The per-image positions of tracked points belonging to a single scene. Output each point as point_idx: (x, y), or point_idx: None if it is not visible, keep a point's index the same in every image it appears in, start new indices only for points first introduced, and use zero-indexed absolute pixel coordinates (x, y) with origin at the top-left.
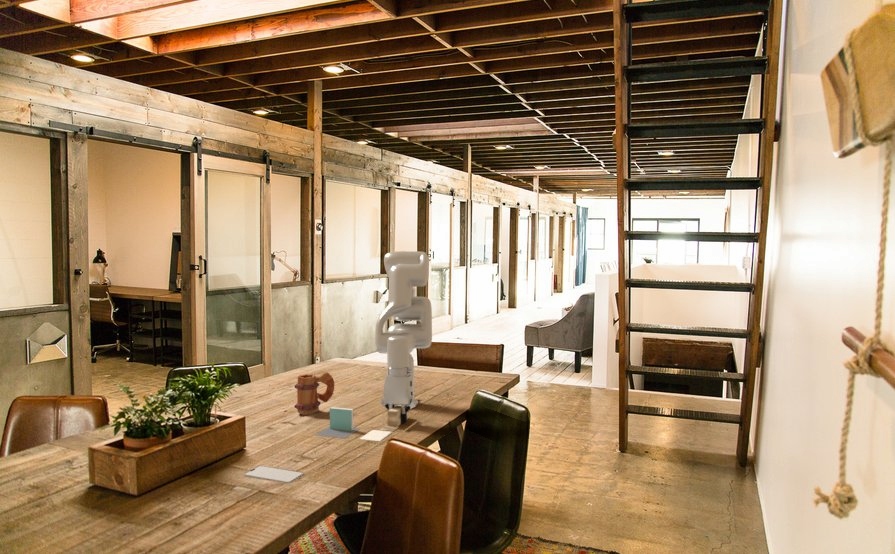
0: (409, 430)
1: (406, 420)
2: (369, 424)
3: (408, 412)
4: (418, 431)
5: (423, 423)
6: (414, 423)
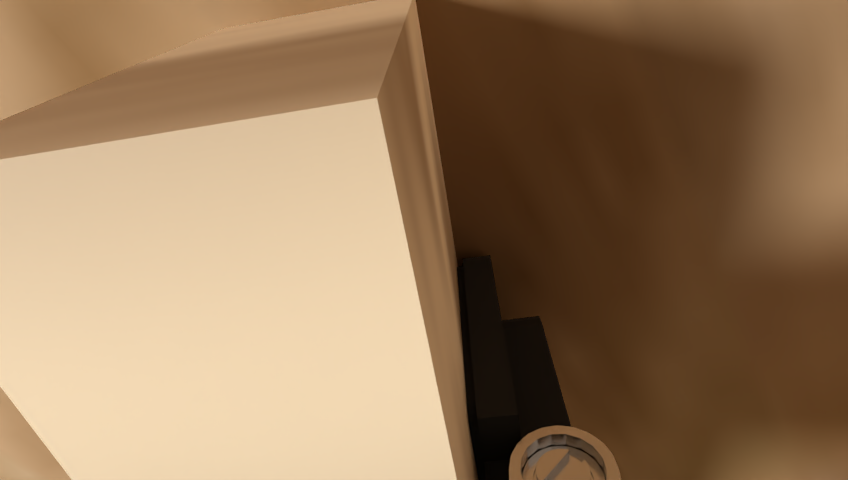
0: (690, 474)
1: (540, 327)
2: (57, 473)
3: (411, 38)
4: (829, 465)
5: (845, 98)
6: (651, 180)
